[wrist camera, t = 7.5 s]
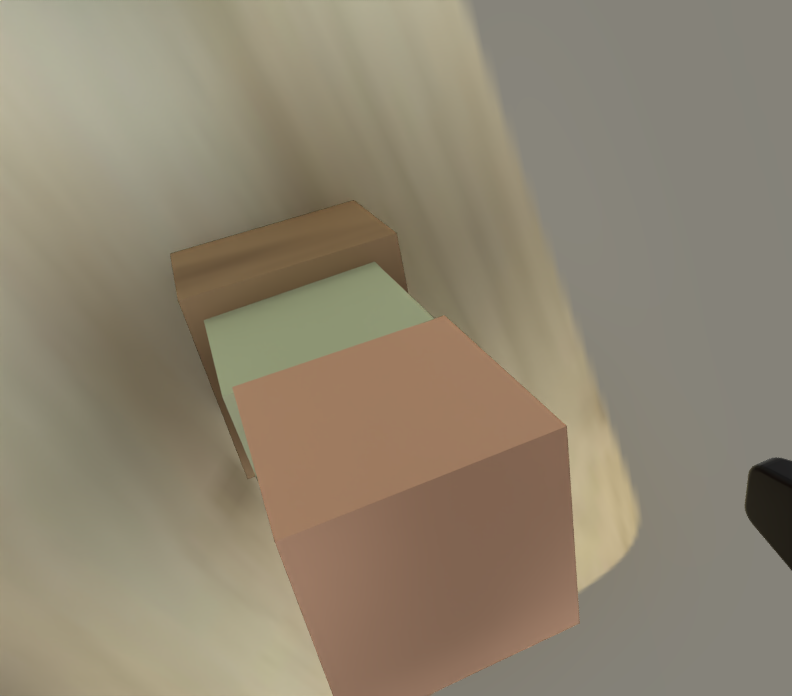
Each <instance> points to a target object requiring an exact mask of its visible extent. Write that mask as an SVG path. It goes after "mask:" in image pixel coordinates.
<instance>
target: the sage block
mask: <svg viewBox="0 0 792 696" xmlns="http://www.w3.org/2000/svg"><path fill="white" fill-rule="evenodd" d="M433 319H434V318H433V317H432V316H431V315H430V314H429V313H428V312H427V311H426V310H425V309H424V308H423V307H422V306H421V305H420V304H419V303H417V302H416V301H415V300H414V299H413V298H412V297H411V296H410V295H409V294H408V293H407V292H406V291H405V290H404V289H403V288H402V287H401V286H400V285H399V284H398V283H396V282H395V281H394V280H393V279H392V278H391V277H390V276H389V275H388V274H387V273H386V272H385V271H384V270H383V269H382V268H381V267H380V266H379V265H378V264H377V263H376V262H372V263H369V264H366V265H363V266H360V267H357V268H354V269H351V270H348V271H346V272H343V273H340V274H337V275H334V276H331V277H328V278H325V279H322V280H319V281H316V282H314V283H311V284H308V285H305V286H302V287H299V288H296V289H293V290H290V291H287V292H284V293H282V294H279V295H276V296H273V297H270V298H267V299H264V300H261V301H258V302H255V303H252V304H249V305H247V306H244V307H241V308H238V309H235V310H232V311H229V312H226V313H223V314H220V315H217V316H215V317H212V318H209V319H206V320H204V323H205V327H206V332H207V336H208V340H209V344H210V348H211V352H212V356H213V360H214V365H215V369H216V373H217V377H218V381H219V385H220V389H221V394H222V397H223V400H224V402H225V404H226V407H227V409H228V412H229V414H230V416H231V419H232V421H233V423H234V426H235V428H236V431H237V433H238V435H239V438H240V440H241V442H242V445H243V447H244V450H245V452H246V454H247V457H248V459H249V461H250V464H251V466H252V469H253V471H254V473H255V476H256V478H257V475H256V472H255V468H254V464H253V461H252V457H251V454H250V450H249V446H248V443H247V439H246V435H245V432H244V428H243V425H242V421H241V417H240V414H239V410H238V407H237V403H236V399H235V396H234V392H233V388H232V387H234V386H237V385H240V384H243V383H246V382H249V381H252V380H255V379H258V378H260V377H263V376H266V375H269V374H272V373H275V372H278V371H281V370H284V369H287V368H290V367H293V366H296V365H299V364H302V363H305V362H308V361H311V360H314V359H317V358H320V357H323V356H326V355H329V354H332V353H335V352H338V351H340V350H343V349H346V348H349V347H352V346H355V345H358V344H361V343H364V342H367V341H370V340H373V339H376V338H379V337H382V336H385V335H388V334H391V333H394V332H397V331H400V330H403V329H406V328H409V327H412V326H415V325H418V324H421V323H424V322H427V321H430V320H433ZM257 480H258V479H257ZM258 483H259V482H258Z"/></svg>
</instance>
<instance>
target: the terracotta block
mask: <svg viewBox="0 0 792 696" xmlns="http://www.w3.org/2000/svg"><path fill="white" fill-rule="evenodd" d="M232 388H233V392H234V396H235V399H236V403H237V407H238V410H239V414H240V417H241V421H242V425H243V428H244V432H245V435H246V439H247V443H248V446H249V450H250V454H251V457H252V461H253V464H254V468H255V472H256V475H257V479H258V482H259V486H260V490H261V493H262V497H263V501H264V504H265V508H266V511H267V515H268V519H269V522H270V526H271V530H272V533H273V537H274V540H275V543H276V546H277V549H278V551H279V554H280V557H281V559H282V562H283V565H284V567H285V570H286V572H287V575H288V578H289V580H290V583H291V586H292V588H293V591H294V594H295V596H296V599H297V601H298V604H299V607H300V609H301V612H302V615H303V617H304V620H305V623H306V625H307V628H308V630H309V633H310V636H311V638H312V641H313V644H314V646H315V649H316V652H317V654H318V657H319V660H320V662H321V665H322V667H323V670H324V673H325V675H326V678H327V681H328V683H329V686H330V689H331V691H332V694H333V696H428V695H430V694H432V693H434V692H436V691H438V690H440V689H442V688H445V687H446V686H449V685H451V684H453V683H455V682H457V681H459V680H461V679H463V678H466V677H468V676H470V675H472V674H474V673H476V672H478V671H480V670H482V669H484V668H487V667H489V666H491V665H493V664H495V663H497V662H499V661H501V660H503V659H506V658H508V657H510V656H512V655H514V654H516V653H518V652H520V651H522V650H525V649H527V648H528V647H531V646H533V645H535V644H537V643H539V642H541V641H543V640H546V639H548V638H550V637H552V636H554V635H556V634H558V633H560V632H562V631H564V630H567V629H569V628H571V627H573V626H575V625H577V624H579V623H580V621H579V605H578V590H577V575H576V560H575V544H574V529H573V514H572V498H571V483H570V468H569V453H568V437H567V426H566V425H565V424H564V423H563V422H562V421H561V420H559V419H558V418H557V417H556V416H555V415H554V414H553V413H552V412H551V411H550V410H548V409H547V408H546V407H545V406H544V405H543V404H542V403H541V402H540V401H538V400H537V399H536V398H535V397H534V396H533V395H532V394H531V393H530V392H529V391H527V390H526V389H525V388H524V387H523V386H522V385H521V384H520V383H519V382H518V381H516V380H515V379H514V378H513V377H512V376H511V375H510V374H509V373H508V372H506V371H505V370H504V369H503V368H502V367H501V366H500V365H499V364H498V363H497V362H495V361H494V360H493V359H492V358H491V357H490V356H489V355H488V354H487V353H485V352H484V351H483V350H482V349H481V348H480V347H479V346H478V345H477V344H476V343H474V342H473V341H472V340H471V339H470V338H469V337H468V336H467V335H466V334H465V333H463V332H462V331H461V330H460V329H459V328H458V327H457V326H456V325H455V324H453V323H452V322H451V321H450V320H449V319H448V318H447V317H446V316H445V315H444V316H441V317H438V318H435V319H433V320H430V321H427V322H424V323H421V324H418V325H415V326H412V327H409V328H406V329H403V330H400V331H397V332H394V333H391V334H388V335H385V336H382V337H379V338H376V339H373V340H370V341H367V342H364V343H361V344H358V345H355V346H352V347H349V348H346V349H343V350H340V351H338V352H335V353H332V354H329V355H326V356H323V357H320V358H317V359H314V360H311V361H308V362H305V363H302V364H299V365H296V366H293V367H290V368H287V369H284V370H281V371H278V372H275V373H272V374H269V375H266V376H263V377H260V378H258V379H255V380H252V381H249V382H246V383H243V384H240V385H237V386H234V387H232Z"/></svg>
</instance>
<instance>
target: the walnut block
mask: <svg viewBox="0 0 792 696" xmlns="http://www.w3.org/2000/svg"><path fill="white" fill-rule="evenodd" d="M170 257H171V262H172V268H173V274H174V280H175V286H176V292H177V298H178V302H179V305H180V307H181V310H182V312H183V315H184V318H185V320H186V323H187V325H188V328H189V330H190V333H191V335H192V338H193V341H194V343H195V346H196V348H197V351H198V353H199V356H200V358H201V361H202V364H203V366H204V369H205V371H206V374H207V376H208V379H209V382H210V384H211V387H212V389H213V392H214V394H215V397H216V399H217V402H218V405H219V407H220V410H221V412H222V415H223V417H224V420H225V422H226V425H227V428H228V430H229V433H230V435H231V438H232V440H233V443H234V446H235V448H236V451H237V453H238V456H239V458H240V461H241V463H242V466H243V469H244V471H245V474H246V476H247V479H249V478H252V477H255V473H254V471H253V469H252V466H251V464H250V461H249V459H248V457H247V454H246V452H245V450H244V447H243V445H242V442H241V440H240V438H239V435H238V433H237V431H236V428H235V426H234V423H233V421H232V419H231V416H230V414H229V412H228V409H227V407H226V404H225V402H224V400H223V397H222V394H221V389H220V385H219V381H218V377H217V373H216V369H215V365H214V360H213V356H212V352H211V348H210V344H209V340H208V336H207V332H206V327H205V323H204V320H206V319H209V318H212V317H215V316H217V315H220V314H223V313H226V312H229V311H232V310H235V309H238V308H241V307H244V306H247V305H249V304H252V303H255V302H258V301H261V300H264V299H267V298H270V297H273V296H276V295H279V294H282V293H284V292H287V291H290V290H293V289H296V288H299V287H302V286H305V285H308V284H311V283H314V282H316V281H319V280H322V279H325V278H328V277H331V276H334V275H337V274H340V273H343V272H346V271H348V270H351V269H354V268H357V267H360V266H363V265H366V264H369V263H372V262H376V263H377V264H378V265H379V266H380V267H381V268H382V269H383V270H384V271H385V272H386V273H387V274H388V275H389V276H390V277H391V278H392V279H393V280H394V281H395V282H396V283H398V284H399V285H400V286H401V287H402V288H403V289H404V290H405V291H406V292H407V293H408V289H407V284H406V279H405V274H404V269H403V263H402V258H401V253H400V248H399V243H398V237H397V233H396V232H394V231H393V230H392V229H391V228H389V227H388V226H387V225H385V224H384V223H383V222H381V221H380V220H379V219H378V218H376V217H375V216H374V215H372V214H371V213H370V212H369V211H367V210H366V209H365V208H363V207H362V206H361V205H360V204H358V203H357V202H356V201H354V200H353V201H349V202H346V203H342V204H339V205H336V206H332V207H329V208H325V209H322V210H318V211H315V212H312V213H308V214H305V215H301V216H298V217H294V218H291V219H287V220H284V221H281V222H277V223H274V224H270V225H267V226H263V227H260V228H257V229H253V230H250V231H246V232H243V233H239V234H236V235H233V236H229V237H226V238H222V239H219V240H215V241H212V242H208V243H205V244H202V245H198V246H195V247H191V248H188V249H184V250H181V251H178V252H174V253H171V254H170Z"/></svg>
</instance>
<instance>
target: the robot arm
mask: <svg viewBox="0 0 792 696" xmlns="http://www.w3.org/2000/svg"><path fill="white" fill-rule="evenodd" d="M745 511H746V514H747V516H748V518H749V520H750V521H751V522H752V524H753V525H754V526H755V528H756V529H757V530H758V531H759V532H760V534H761V535H762V536H763V537H764V538H765V539H766V540H767V542H768V543H769V544H770V545H771V547H772V548H773V549H774V550H775V551H776V552H777V553H778V555H779V556H780V557H781V558H782V560H784V562H785V563H786V564H787V565H788V567H789V568H790V569H791V570H792V461H790V460H787V459H783V458H771V459H768V460H766V461H763V462H761V463H759V464H756V465H754V466H753V467H752V468H751V469H750V471H749V474H748V482H747V490H746V499H745Z"/></svg>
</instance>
